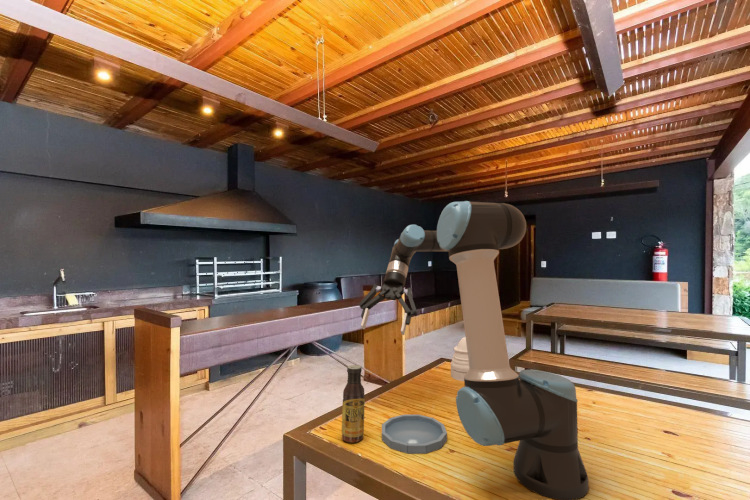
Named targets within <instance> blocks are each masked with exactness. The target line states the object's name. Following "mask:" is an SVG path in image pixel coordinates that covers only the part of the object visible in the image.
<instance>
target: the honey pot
mask: <svg viewBox="0 0 750 500" xmlns="http://www.w3.org/2000/svg"><path fill="white" fill-rule="evenodd" d="M453 351H454V353H453V355H452V359H451V362H450V377H451V378H452V379H453V380H456V381H461V382H464V376H465V375H466V373H467V372H468V371H469V360H468V352H467V344H466V336H463V337H461V339H460V340H459V341H458V342H457V345H456V346H454V347H453Z"/></svg>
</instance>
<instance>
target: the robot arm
mask: <svg viewBox="0 0 750 500" xmlns="http://www.w3.org/2000/svg"><path fill="white" fill-rule="evenodd" d="M526 232H527V221H526V219H525V216H524V214H523V213H522V211H521V210H519V209H518V208H517V207H515V206H514V205H512V204H509V203H505V202H484V201H483V202H480V201H468V200H464V201H453V202H450V203H448V204H447V205H446V206H445V207H444V208H443V210H442V211H441V214H440V215H439V218H438V221H437V225H436V230H424V229H423V227H422V226H419V225H417V224H409V225H407V226H406V227H405V228H404V229H403V231H402V232H401V233H400V236H399V238H398V239H395V241H394V244H393V246H392V249H391V254H390V258H389V262H388V264H387V268H386V271H385V276H384V280H383V282H382V285H381V286H379V285H377V284H376V283H374V284H373V285H372V288H371V290H370V291H369V292H368V293H367V294H366V295H365V296H364V298H363V299H361V301H360V302H358V303H359V304H358V305H359V307H360V309H361V315H360V317H361V319H362V320H361V324H360V328H362V330H366V326H367V323H368V320H369V316H370V313H371V312H370V310H371V309H372V308H374V307H375V306H376V305H378V304H379V303H381V301H384V300H387V301H390V300H391V301H396V300H397V301H398V302H399V303H400V305H401V307H402V308H403V310H404V313H403V314H404V315H403V318H402V324H401V328H400V332H401V335H402V336H405V334H406V328H407V326H409V325H410V323H411V319H412V317H413V316H415V317H416V316H418V311H417V308H416V305H415V302H414V299H413V291H412V288H411V287H408V288H405V285H406V281H407V280H406V279H407V276H408V272H409V266H410V263H411V260H412V258H413V256H414V254H416V252H445V253H446V252H447V253H448V259H449V261H450V262H452V263H454V264H455V265H456V271H457V272H456V273H457V279H458V280H457V281H458V288H459V296H460V303H461V304H460V305H461V311H462V319H463V320H462V321H463V327H464V335H465V336H464V337H466V344H467V352H468V360H469V371H468V372H467V373H466V375H465V376H464V381H463V382H464V386H463V387H461V388H460V389H458V390H457V393H456V398H455V405H456V410H457V414H458V417H459V420H460V422H461V425H462V427H463V428H464V430H465V432H466V433H467V435H468V436H469V437H470V438H471V439H472V440H473V442H475V443H476V444H478V445H479V446H483V447H489V446H490V447H491V446H502V445H504V444H508V443H509V444H510V443H514V442H518V445H517V447H516V452H515V454H514V457H513V462H512V463H513V474H514V477H515V478H516V479H517V481H518V482H519V483H520V484H521V485H523V486H524V487H525V488H527V489H528V490H530V491H532V492H533V493H536V494H538V495H541V496H542V497H546V498H550V499H554V500H572V499H575V500H578V498H579V499H581V498H580V497H582V498H583V497H585V496H586V495H587V494H588V492H589V489H590V488H589V486H590V485H589V475H588V473H587V469H586V467H585V464H584V462H583V459H582V457H581V453H580V451H579V443H578V440H579V439H578V438H579V437H578V433H579V432H578V400H579V399H577V392H576V390H577V389H576V387H575V384H574V382H573V381H571V380H570V379H569V378H566V377H564V376H562V375H559V374H556V373H552V372H548V371H545V370H544V371H543V370H536V369H523V370H521V371H519V372H518V373H519V374H518V373H517V372H515V370H513V369H512V368H511V366H510V360H509V354H508V348H507V341H506V334H505V328H504V321H503V315H502V309H501V307H502V306H501V302H500V296H499V290H498V289H499V288H498V282H497V275H496V269H495V260H496V258H497V257H498V256H499V254H500V250H504V249H505V250H506V249H510V248H512V247H514V246H516V245H518V244H519V243H520V242H521V241H522V240H523V238H525V235H526ZM376 294H377V295H376ZM404 294H405V296H406V297H407V298H408V301H409V304H410V307H411V309H410V307H409V306H408V304H407V303H406V302H405V300H404V298H403V297H402V296H403V295H404ZM586 493H587V494H586ZM584 495H585V496H584Z"/></svg>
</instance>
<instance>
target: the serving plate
mask: <svg viewBox="0 0 750 500" xmlns="http://www.w3.org/2000/svg"><path fill="white" fill-rule="evenodd" d="M447 441H448V432H447V430H446V426H445V424H443V423H442V422H441V421H439V420H437V419H436V418H434V417H431V416H427V415H422V414H401V415H400V414H399V415H396V416H393V417H389V418H388V419H387V420H385V422H383V423H382V424H381V442H383V443H384V444H385V445H387V447H389V449H391V450H395V451H398V452H401V453H405V454H409V455H410V454H418V455H420V454H429V453H432V452H434V451H438V450H440V449H442V448H443V446H444V445H445V443H447Z"/></svg>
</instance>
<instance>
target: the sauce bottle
mask: <svg viewBox="0 0 750 500" xmlns="http://www.w3.org/2000/svg"><path fill="white" fill-rule="evenodd" d="M362 369H363V367H362V366H361V365H357V364H351V365H348V366H347V368H346V372H347V382H346V385H345V387H344V389H343V392H342V393H343V394H342V407H341V408H342V411H341V413H342V414H341V433H342V435H341V439H342V440H343V441H344V442H347V443H350V444H351V443H358V442H360V441H362V440H363V437H364V433H365V402H366V400H365V388H364V386H363V384H362V378H361V377H362Z"/></svg>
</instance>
